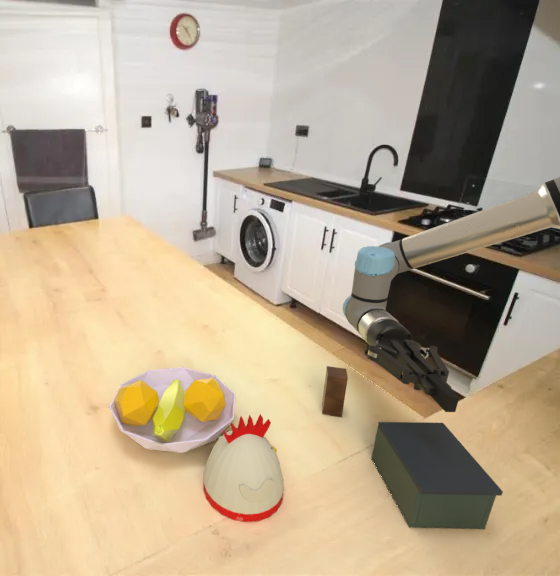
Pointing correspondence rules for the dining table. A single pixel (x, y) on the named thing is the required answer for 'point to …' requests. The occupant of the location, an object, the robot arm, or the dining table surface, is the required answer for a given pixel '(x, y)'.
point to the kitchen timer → (244, 473)
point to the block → (334, 391)
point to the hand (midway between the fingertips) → (452, 404)
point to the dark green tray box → (428, 496)
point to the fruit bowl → (173, 409)
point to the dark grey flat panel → (437, 459)
